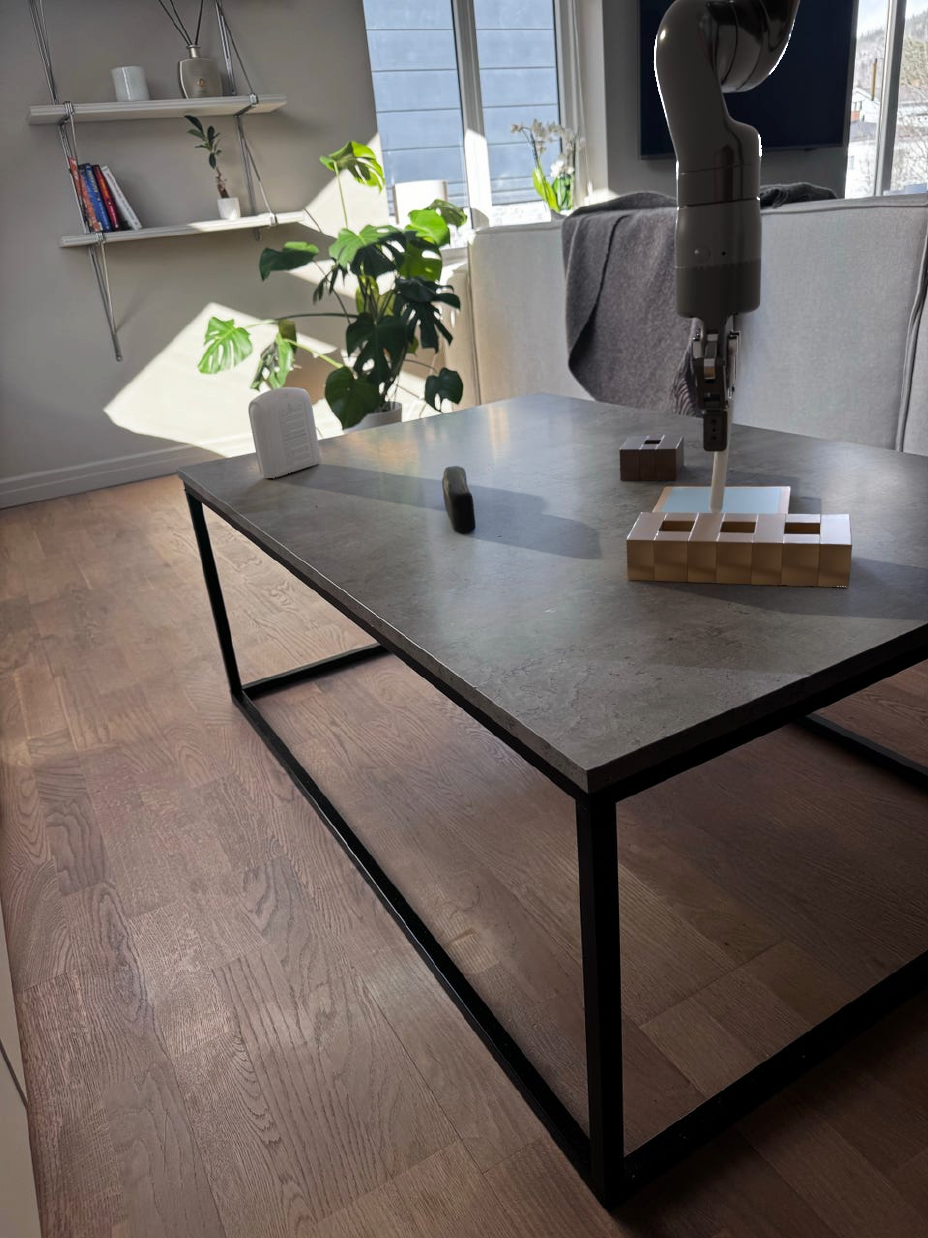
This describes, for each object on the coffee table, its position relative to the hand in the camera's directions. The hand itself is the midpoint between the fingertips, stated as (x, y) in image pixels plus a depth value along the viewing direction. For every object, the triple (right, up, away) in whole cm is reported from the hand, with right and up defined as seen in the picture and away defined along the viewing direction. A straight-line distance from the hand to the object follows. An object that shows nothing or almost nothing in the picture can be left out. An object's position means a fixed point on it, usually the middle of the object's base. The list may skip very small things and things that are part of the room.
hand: (716, 447), depth 86 cm
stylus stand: (0, +2, +27) cm, 27 cm away
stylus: (+1, -6, +3) cm, 7 cm away
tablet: (+3, -6, +9) cm, 11 cm away
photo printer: (-51, +6, +49) cm, 71 cm away
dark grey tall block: (-25, -4, +19) cm, 32 cm away
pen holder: (+1, -12, -4) cm, 13 cm away
